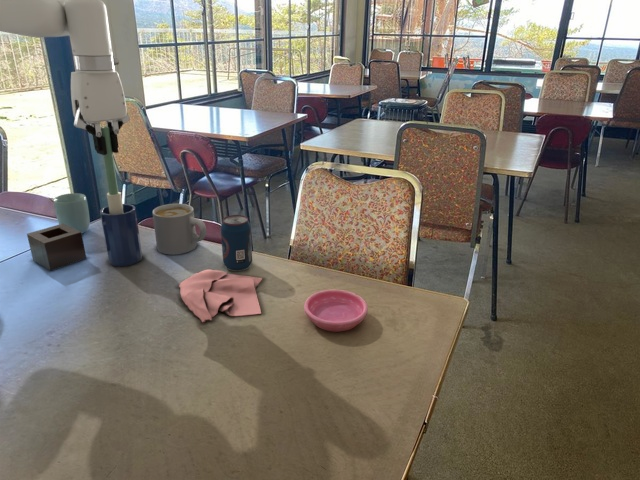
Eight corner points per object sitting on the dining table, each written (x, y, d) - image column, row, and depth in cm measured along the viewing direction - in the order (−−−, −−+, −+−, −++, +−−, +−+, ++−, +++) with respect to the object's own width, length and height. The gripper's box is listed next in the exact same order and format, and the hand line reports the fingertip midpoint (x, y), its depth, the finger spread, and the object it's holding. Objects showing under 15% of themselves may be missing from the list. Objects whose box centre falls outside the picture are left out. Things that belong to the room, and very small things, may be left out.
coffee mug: (148, 249, 122) (143, 212, 118) (175, 235, 131) (171, 201, 127) (189, 260, 117) (185, 222, 113) (215, 246, 125) (212, 210, 121)
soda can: (220, 261, 117) (217, 215, 112) (248, 257, 119) (246, 212, 114) (226, 274, 111) (223, 226, 106) (255, 269, 113) (253, 222, 108)
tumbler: (102, 260, 116) (93, 209, 111) (130, 250, 122) (123, 201, 117) (120, 269, 112) (111, 217, 107) (148, 258, 118) (141, 208, 112)
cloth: (203, 267, 114) (202, 257, 113) (287, 284, 107) (287, 274, 106) (147, 309, 96) (145, 299, 95) (244, 333, 90) (243, 322, 89)
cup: (80, 239, 127) (74, 203, 123) (54, 236, 128) (46, 201, 124) (97, 228, 134) (91, 194, 130) (72, 226, 135) (65, 192, 131)
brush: (107, 213, 112) (93, 127, 104) (119, 210, 114) (106, 125, 106) (114, 217, 110) (101, 129, 102) (126, 213, 112) (114, 127, 104)
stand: (33, 260, 115) (26, 233, 113) (68, 248, 122) (63, 223, 119) (50, 271, 111) (44, 243, 108) (86, 258, 117) (81, 231, 114)
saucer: (347, 344, 87) (347, 330, 86) (291, 322, 93) (291, 309, 92) (377, 314, 97) (378, 300, 95) (325, 296, 103) (326, 283, 102)
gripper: (119, 62, 107) (129, 144, 114) (46, 64, 95) (63, 156, 103) (139, 64, 103) (148, 149, 110) (65, 67, 91) (81, 162, 98)
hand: (107, 152), depth 106 cm, fingers closed on brush, 2 cm apart
